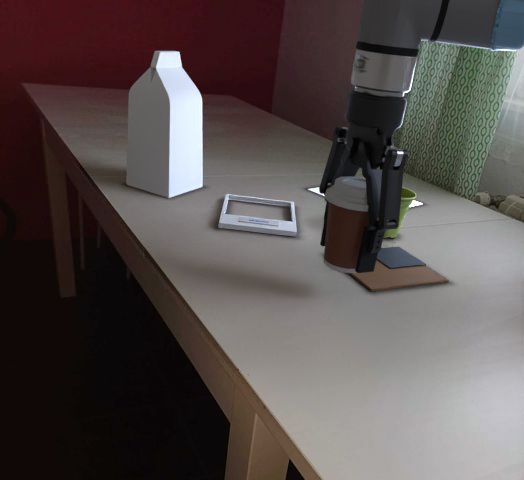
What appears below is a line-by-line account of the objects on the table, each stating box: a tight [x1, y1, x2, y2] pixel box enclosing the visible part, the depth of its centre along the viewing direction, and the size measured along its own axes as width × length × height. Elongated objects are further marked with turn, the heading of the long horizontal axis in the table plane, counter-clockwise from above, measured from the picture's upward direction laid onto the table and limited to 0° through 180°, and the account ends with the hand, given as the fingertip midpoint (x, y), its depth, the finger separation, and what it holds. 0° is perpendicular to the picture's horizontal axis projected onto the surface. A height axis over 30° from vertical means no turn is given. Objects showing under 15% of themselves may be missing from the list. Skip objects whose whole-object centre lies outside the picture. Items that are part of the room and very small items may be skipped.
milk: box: [125, 50, 204, 199], centre depth 111 cm, size 12×12×26 cm
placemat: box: [348, 246, 450, 292], centre depth 93 cm, size 14×16×1 cm
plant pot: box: [383, 186, 418, 239], centre depth 106 cm, size 9×9×9 cm
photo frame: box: [218, 193, 298, 237], centre depth 108 cm, size 15×1×18 cm
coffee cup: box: [322, 175, 379, 274], centre depth 77 cm, size 9×9×12 cm
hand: (345, 257), depth 80 cm, fingers closed on coffee cup, 9 cm apart
